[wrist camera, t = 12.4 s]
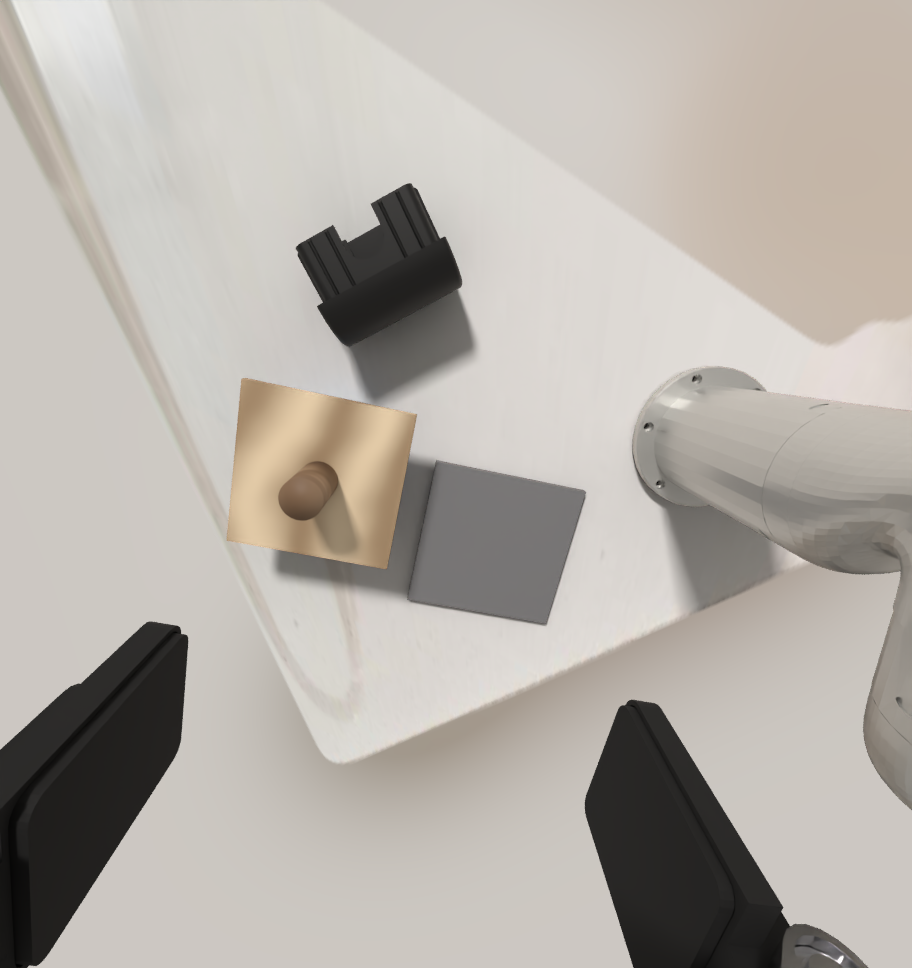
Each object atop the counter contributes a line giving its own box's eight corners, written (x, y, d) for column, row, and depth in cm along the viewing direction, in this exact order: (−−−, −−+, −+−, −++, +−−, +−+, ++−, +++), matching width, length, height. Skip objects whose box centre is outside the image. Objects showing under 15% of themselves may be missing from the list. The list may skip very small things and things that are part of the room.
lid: (417, 414, 36) (413, 426, 31) (387, 565, 40) (379, 600, 34) (245, 378, 35) (209, 383, 30) (230, 536, 39) (195, 568, 33)
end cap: (355, 348, 40) (338, 347, 33) (310, 265, 38) (284, 248, 31) (461, 291, 39) (465, 280, 32) (421, 204, 37) (417, 174, 31)
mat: (584, 490, 44) (585, 492, 43) (544, 620, 48) (545, 623, 47) (436, 460, 43) (436, 461, 42) (407, 596, 46) (407, 599, 46)
